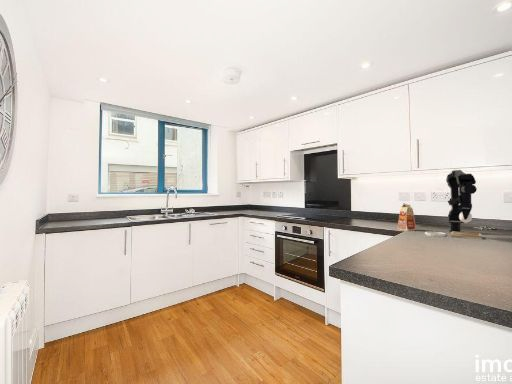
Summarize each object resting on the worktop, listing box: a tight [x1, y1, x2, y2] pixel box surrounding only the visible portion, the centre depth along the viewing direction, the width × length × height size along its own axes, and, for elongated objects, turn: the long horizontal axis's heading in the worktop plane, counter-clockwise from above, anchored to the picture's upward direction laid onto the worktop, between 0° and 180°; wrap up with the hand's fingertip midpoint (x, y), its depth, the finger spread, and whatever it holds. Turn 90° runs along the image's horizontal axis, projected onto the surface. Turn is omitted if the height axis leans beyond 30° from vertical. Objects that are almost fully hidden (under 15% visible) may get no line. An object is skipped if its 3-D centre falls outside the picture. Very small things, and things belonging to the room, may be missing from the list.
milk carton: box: [396, 202, 417, 231], centre depth 183 cm, size 9×9×20 cm
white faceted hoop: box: [424, 231, 446, 237], centre depth 157 cm, size 11×11×1 cm
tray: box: [450, 231, 482, 240], centre depth 150 cm, size 12×14×2 cm
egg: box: [459, 212, 473, 224], centre depth 150 cm, size 6×6×8 cm
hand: (465, 219), depth 150 cm, fingers closed on egg, 6 cm apart
